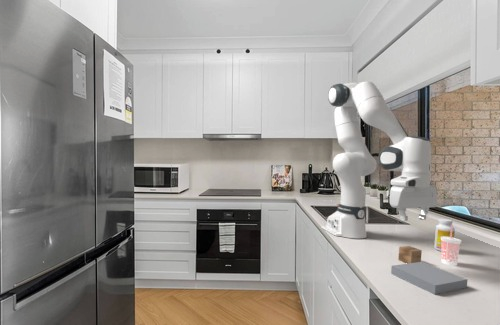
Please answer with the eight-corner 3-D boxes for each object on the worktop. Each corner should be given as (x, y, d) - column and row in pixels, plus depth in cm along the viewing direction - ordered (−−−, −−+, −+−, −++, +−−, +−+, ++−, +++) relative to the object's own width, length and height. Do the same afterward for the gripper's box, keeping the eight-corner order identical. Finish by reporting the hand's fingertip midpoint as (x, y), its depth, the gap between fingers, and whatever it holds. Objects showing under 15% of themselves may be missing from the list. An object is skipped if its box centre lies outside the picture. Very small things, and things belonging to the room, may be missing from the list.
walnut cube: (398, 260, 102) (399, 246, 102) (407, 259, 104) (408, 245, 104) (410, 265, 98) (411, 251, 98) (420, 264, 100) (421, 250, 100)
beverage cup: (462, 265, 101) (465, 226, 101) (454, 267, 98) (457, 227, 97) (443, 259, 106) (446, 222, 106) (435, 261, 103) (438, 223, 102)
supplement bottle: (456, 254, 113) (458, 222, 113) (438, 251, 115) (440, 220, 114) (448, 248, 120) (450, 218, 120) (431, 246, 121) (433, 217, 121)
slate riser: (391, 273, 89) (391, 265, 89) (421, 268, 95) (421, 261, 95) (434, 294, 76) (435, 285, 76) (466, 287, 82) (467, 279, 82)
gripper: (426, 181, 107) (424, 217, 107) (387, 180, 99) (385, 219, 99) (443, 182, 101) (441, 220, 101) (402, 181, 93) (400, 223, 94)
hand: (413, 220), depth 100 cm, fingers open, 8 cm apart
